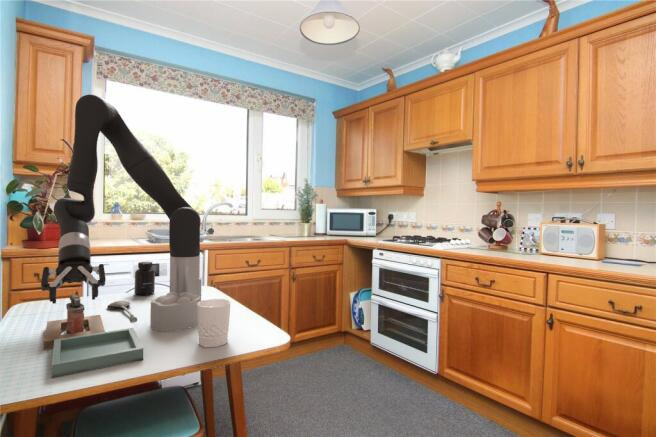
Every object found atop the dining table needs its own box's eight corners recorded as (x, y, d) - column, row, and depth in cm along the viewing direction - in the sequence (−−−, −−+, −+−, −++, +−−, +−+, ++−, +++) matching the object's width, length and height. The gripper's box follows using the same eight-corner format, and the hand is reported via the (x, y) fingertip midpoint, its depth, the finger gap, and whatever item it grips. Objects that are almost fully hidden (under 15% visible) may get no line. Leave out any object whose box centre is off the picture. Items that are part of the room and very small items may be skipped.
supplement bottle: (146, 296, 133) (146, 264, 133) (130, 295, 135) (130, 263, 134) (158, 292, 140) (159, 261, 140) (143, 291, 141) (143, 260, 141)
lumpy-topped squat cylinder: (146, 325, 102) (147, 294, 102) (190, 315, 112) (191, 287, 111) (162, 334, 95) (163, 301, 95) (208, 323, 105) (208, 293, 104)
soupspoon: (128, 306, 124) (105, 310, 119) (127, 296, 124) (105, 300, 119) (145, 320, 107) (120, 325, 103) (145, 309, 107) (120, 313, 103)
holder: (100, 321, 104) (100, 314, 104) (104, 340, 90) (105, 332, 90) (47, 328, 97) (47, 321, 97) (43, 350, 83) (43, 341, 83)
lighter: (87, 336, 92) (87, 297, 92) (71, 340, 90) (71, 299, 89) (78, 329, 98) (79, 292, 97) (63, 331, 95) (63, 294, 95)
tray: (133, 337, 92) (133, 327, 92) (143, 359, 79) (143, 348, 79) (54, 350, 83) (54, 339, 83) (51, 378, 70) (51, 365, 70)
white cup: (201, 337, 94) (201, 298, 94) (232, 336, 95) (232, 298, 94) (192, 348, 86) (193, 307, 86) (226, 348, 87) (227, 307, 86)
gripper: (42, 244, 98) (39, 295, 89) (104, 242, 106) (107, 289, 97) (43, 261, 103) (40, 311, 94) (102, 258, 111) (105, 304, 102)
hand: (74, 299), depth 95 cm, fingers open, 8 cm apart
